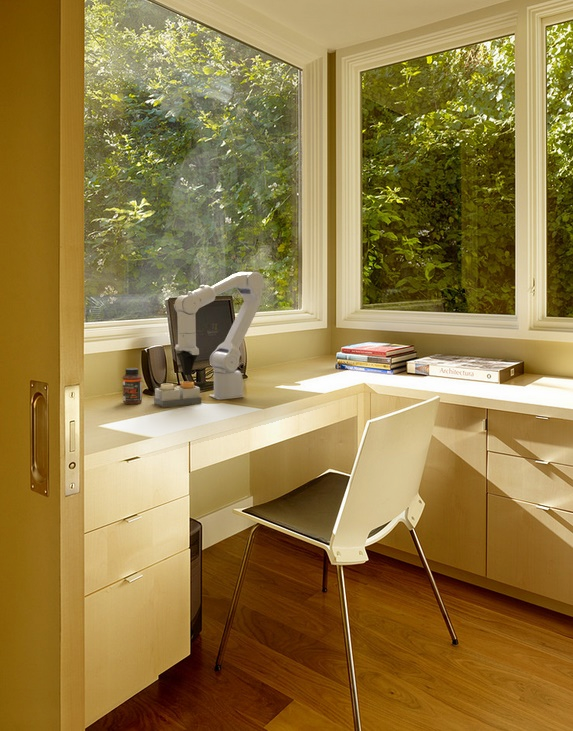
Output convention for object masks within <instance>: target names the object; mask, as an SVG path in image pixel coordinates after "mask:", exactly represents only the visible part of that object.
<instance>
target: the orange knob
mask: <svg viewBox="0 0 573 731" xmlns="http://www.w3.org/2000/svg"><path fill="white" fill-rule="evenodd" d="M180 386H181V388H183V389H188V388H194V386H195V382H194V381H182V382H181V385H180Z"/></svg>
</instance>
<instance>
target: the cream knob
mask: <svg viewBox="0 0 573 731" xmlns="http://www.w3.org/2000/svg"><path fill="white" fill-rule="evenodd" d="M160 388H161V390H162V391H168V390H174V388H175V387H174V384H173V383H171V382H170V383H167V382H166V383H161V384H160Z"/></svg>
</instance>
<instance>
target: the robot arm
mask: <svg viewBox="0 0 573 731" xmlns="http://www.w3.org/2000/svg"><path fill="white" fill-rule="evenodd" d="M264 280H265V279H264V278H263V274H261V273H260V272H258V271H238V272H237V273H233V274H231V275H230V276H227V277H226V278H224V279H223V280H221V281H219V282H217V283H215V284H213V285H211V286H210V285H208V284H206V285H205V284H201V285H199V286H198V288H197V289H195V290H193V291H189V290H188V291H187V294H186V295H179V296H177V298H176V299H175V301H174V303H173V308H174V310H175V312H176V316H177V344H175V346H174V349H175V351H176V352H177V351H180V352H177V353H176V356H177V359H178V360H179V362H180V366H181V369H182V373H183V375H184V376H191V375H192V373H193V369H194V368H193V367H194V364H195V361H196V359H197V357H198V355H200V349H199V347H197V333H196V332H197V330H196V323H197V322H196V313H197V312H198V310H199V309H200V308H202V307H204V306H206V305H209V304H210V303H212V302H214V301H215V300H216V296H219V295H221V294H223V293H225V292H228V291H231V290H232V289H235V288H236V290H237V292H238V293H239V294H240V296H241V299H242V300H243V302H242V304H241V306H240V308H239V311H238V312H237V315H236V317H235V319H234V321H233V322H232V324H231V326H230V329H229V331H228V333H227V336H226V337H225V339H224V341H222V342H221V343H220V344H219V345H218V346H217V347H216V348H215V350H214V351H212V353H211V354H210V355H209V364H210V366H211V368H212V370H213V394H212V393H211V394H209V397H210V398H213V399H216V400H218V401H221V400H230V399H239V398H245V396H244V390H243V389H244V387H243V386H244V384H243V383H244V382H243V381H244V378H243V373H242V372H241V371H240V370H237V369H238V367H239V365H240V357H241V356H242V352H241V350H240V347H241V344H242V343H243V340H244V338H245V337H246V335H247V333H248V331H249V328H250V326H251V325H252V322H253V320H254V318H255V315H256V314H257V312H258V310H259V309H260V308H259V307H260V305H261V304H262V296H263V295H262V294H263V290H264V287H265V285H266V284H265V281H264Z"/></svg>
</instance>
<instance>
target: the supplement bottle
mask: <svg viewBox="0 0 573 731" xmlns="http://www.w3.org/2000/svg"><path fill="white" fill-rule="evenodd" d="M142 388H143V387H142V376H141V375H140V374H139V368H137V367H128V368H125V374H124V375H123V376H122V403H123V404H125V405H130V406H131V405H138V404H142V400H143V395H142V392H143V391H142Z"/></svg>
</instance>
